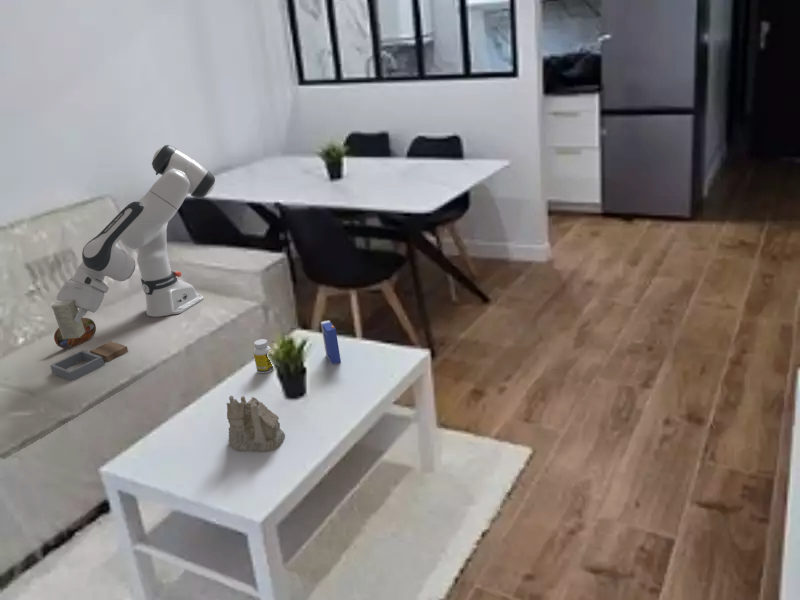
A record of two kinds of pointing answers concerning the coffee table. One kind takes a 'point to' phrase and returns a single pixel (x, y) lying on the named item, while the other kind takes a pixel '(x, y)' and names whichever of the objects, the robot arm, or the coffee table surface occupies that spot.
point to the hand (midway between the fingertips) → (68, 319)
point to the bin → (71, 375)
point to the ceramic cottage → (253, 426)
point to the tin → (72, 342)
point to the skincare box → (68, 319)
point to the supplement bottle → (262, 356)
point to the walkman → (330, 342)
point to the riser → (110, 350)
